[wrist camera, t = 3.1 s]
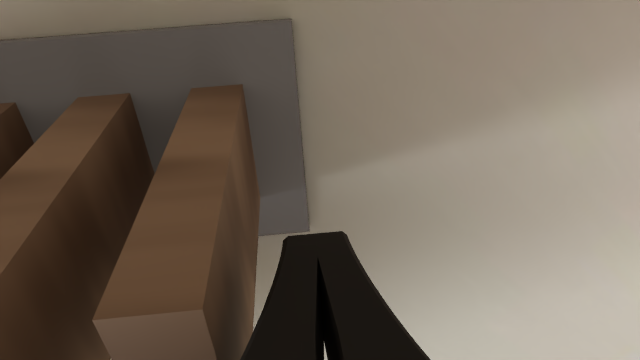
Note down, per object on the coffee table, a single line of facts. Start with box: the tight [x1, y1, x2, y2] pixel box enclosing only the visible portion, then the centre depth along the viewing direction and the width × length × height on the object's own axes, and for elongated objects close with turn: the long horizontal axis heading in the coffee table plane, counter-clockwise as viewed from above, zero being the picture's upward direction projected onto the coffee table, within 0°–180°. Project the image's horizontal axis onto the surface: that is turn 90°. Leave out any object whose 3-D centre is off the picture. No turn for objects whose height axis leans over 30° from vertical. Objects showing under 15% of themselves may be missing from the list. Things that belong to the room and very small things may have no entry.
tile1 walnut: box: [92, 84, 260, 360], centre depth 12 cm, size 4×2×9 cm, turn 3°
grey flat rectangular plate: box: [0, 19, 309, 236], centre depth 15 cm, size 8×19×1 cm, turn 93°
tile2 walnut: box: [0, 93, 154, 360], centre depth 11 cm, size 4×2×9 cm, turn 3°
